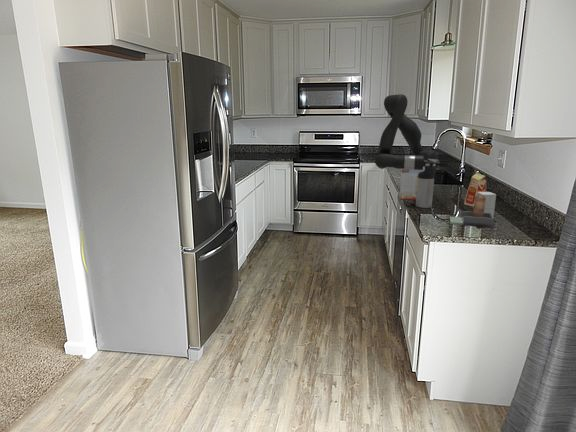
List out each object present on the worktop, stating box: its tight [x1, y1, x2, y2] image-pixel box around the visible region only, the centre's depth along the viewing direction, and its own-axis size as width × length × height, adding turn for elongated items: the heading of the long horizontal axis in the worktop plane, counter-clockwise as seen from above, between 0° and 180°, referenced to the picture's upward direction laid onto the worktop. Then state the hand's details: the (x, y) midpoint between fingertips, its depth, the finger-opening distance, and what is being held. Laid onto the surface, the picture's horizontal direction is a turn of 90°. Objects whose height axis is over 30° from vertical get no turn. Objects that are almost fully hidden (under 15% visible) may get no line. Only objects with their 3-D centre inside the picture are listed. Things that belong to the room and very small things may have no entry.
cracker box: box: [398, 166, 425, 201], centre depth 266 cm, size 14×6×21 cm, turn 84°
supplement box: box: [477, 191, 497, 216], centre depth 226 cm, size 7×7×13 cm
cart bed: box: [449, 210, 496, 228], centre depth 212 cm, size 12×20×4 cm, turn 71°
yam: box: [472, 194, 486, 217], centre depth 209 cm, size 5×5×14 cm
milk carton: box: [463, 171, 487, 207], centre depth 250 cm, size 9×9×20 cm
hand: (447, 163), depth 209 cm, fingers open, 8 cm apart
